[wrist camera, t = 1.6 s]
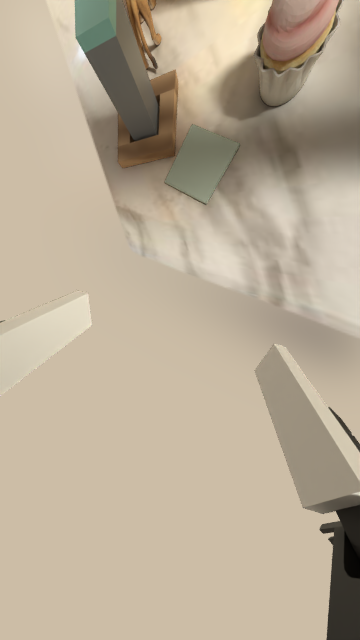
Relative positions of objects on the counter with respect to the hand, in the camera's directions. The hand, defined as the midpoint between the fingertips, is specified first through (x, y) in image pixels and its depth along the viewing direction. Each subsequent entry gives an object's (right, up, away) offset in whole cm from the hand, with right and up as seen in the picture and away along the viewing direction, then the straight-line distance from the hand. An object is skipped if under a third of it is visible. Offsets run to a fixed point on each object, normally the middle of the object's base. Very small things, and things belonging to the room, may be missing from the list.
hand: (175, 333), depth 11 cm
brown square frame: (-6, +39, +19) cm, 44 cm away
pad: (+4, +30, +17) cm, 34 cm away
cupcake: (+16, +38, +12) cm, 43 cm away
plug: (-6, +39, +19) cm, 44 cm away
